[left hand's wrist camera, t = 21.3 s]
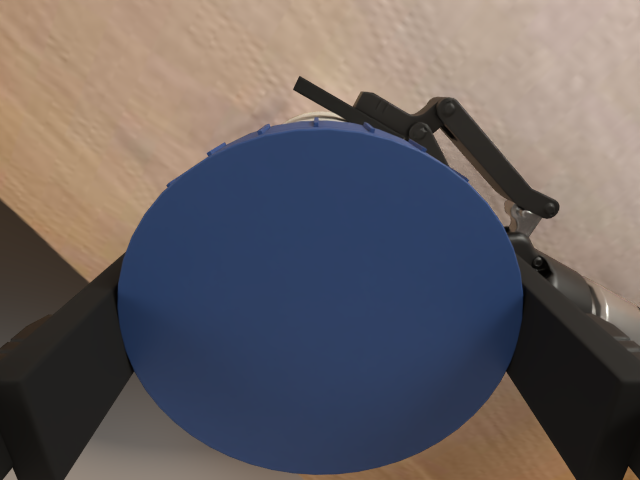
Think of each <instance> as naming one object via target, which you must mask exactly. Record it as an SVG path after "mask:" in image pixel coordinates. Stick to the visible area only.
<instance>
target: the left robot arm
mask: <svg viewBox="0 0 640 480" xmlns="http://www.w3.org/2000/svg"><path fill="white" fill-rule="evenodd" d="M125 253H126V252H125ZM125 253H124V254H123V255H122V256H121V257H119V258H118V259H117V260H116V261H115V262H114V263H112V264H111V265H110V266H109V267H108V268H107V269H106V270H104V271H103V272H102V273H101V274H100V275H99V276H97V277H96V278H95V279H94V280H93V281H92V282H90V283H89V284H88V285H87V286H86V287H85V288H84V289H82V290H81V291H80V292H79V293H78V294H77V295H75V296H74V297H73V298H72V299H71V300H70V301H69V302H67V303H66V304H65V305H64V306H63V307H62V308H60V309H59V310H58V311H57V312H56V313H55V314H53V315H47V316H45V317H43V318H41V319H39V320H37V321H36V322H34V323H32V324H30V325H28V326H26V327H25V328H24V329H23V330H22V331H20V332H19V333H18V334H17V335H16V336H14V337H13V338H12V339H11V341H10V342H7V343H6V344H5V345H3V346H2V347H1V348H0V480H3V479H4V477H5V476H6V475H7V474H8V472H9V471H10V470H11V469H12V467H13V470H14V472H15V474H16V477H17V479H18V480H64V479H65V477H66V476H67V474H68V473H69V471H70V470H71V468H72V466H73V465H74V463H75V462H76V460H77V459H78V457H79V456H80V454H81V453H82V451H83V449H84V448H85V446H86V445H87V443H88V442H89V440H90V439H91V437H92V436H93V434H94V432H95V431H96V429H97V428H98V426H99V425H100V423H101V422H102V420H103V419H104V417H105V415H106V414H107V412H108V411H109V409H110V408H111V406H112V405H113V403H114V401H115V400H116V398H117V397H118V395H119V394H120V392H121V391H122V389H123V388H124V386H125V385H126V383H127V381H128V380H129V378H130V377H131V375H132V374H133V372H134V370H133V367H132V365H131V363H130V360H129V358H128V356H127V353H126V351H125V347H124V343H123V339H122V334H121V330H120V325H119V318H118V310H117V300H118V282H119V277H120V272H121V267H122V263H123V259H124V256H125ZM515 255H516V258H517V262H518V265H519V269H520V273H521V282H522V290H523V315H522V322H521V327H520V332H519V336H518V341H517V344H516V348H515V351H514V354H513V357H512V360H511V362H510V364H509V366H508V368H507V370H506V372H507V373H508V375H509V376H510V378H511V380H512V381H513V383H514V384H515V386H516V387H517V389H518V390H519V392H520V393H521V395H522V397H523V398H524V400H525V401H526V403H527V404H528V406H529V407H530V409H531V410H532V412H533V414H534V415H535V417H536V418H537V420H538V421H539V423H540V424H541V426H542V427H543V429H544V431H545V432H546V434H547V435H548V437H549V438H550V440H551V441H552V443H553V444H554V446H555V448H556V449H557V451H558V452H559V454H560V455H561V457H562V458H563V460H564V461H565V463H566V465H567V466H568V468H569V469H570V471H571V472H572V474H573V475H574V477H575V478H576V480H623V478H624V475H625V473H626V471H627V468H628V466H629V467H630V469H631V470H632V471H633V472H634V473H635V475H636V476H637V477H638V478H639V480H640V346H639V345H638V344H637V343H636V342H634V341H631V340H630V337H628V336H627V335H626V334H625V333H623V332H622V331H621V330H620V329H619V328H617V327H616V326H615V325H613V324H612V323H610V322H608V321H606V320H604V319H602V318H600V317H598V316H596V315H594V314H592V313H585V312H583V311H582V310H581V309H580V308H579V307H578V306H576V305H575V304H574V303H573V302H572V301H571V300H569V299H568V298H567V297H566V296H565V295H564V294H563V293H561V292H560V291H559V290H558V289H557V288H556V287H554V286H553V285H552V284H551V283H550V282H549V281H547V280H546V279H545V278H544V277H543V276H542V275H541V274H539V273H538V272H537V271H536V270H535V269H534V268H532V267H531V266H530V265H529V264H528V263H527V262H525V261H524V260H523V259H522V258H521V257H520V256H519V255H517V254H516V253H515Z"/></svg>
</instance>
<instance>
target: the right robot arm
mask: <svg viewBox="0 0 640 480" xmlns="http://www.w3.org/2000/svg"><path fill="white" fill-rule="evenodd" d="M293 90H295V91H296V92H298V93H300V94H302V95H303V96H305V97H307V98H309V99H310V100H312V101H314V102H316V103H317V104H319V105H321V106H323V107H324V108H326V109H328V110H330V111H331V112H333V113H335V114H337V115H338V116H340V117H342V118H344V119H345V120H347V121H349V122H351V123H355V124H359V125H363V124H364V122H366V123H368V124H370V125H371V126H372V127H373V128H375V129H379V130H382V131H384V132H387V133H389V134H392V135H394V136H397V137H399V138H402V139H404V140H405V141H407V142H408V141H409V139H411V140H413V141H414V142H416V143H418V144H419V145H421V146H423V147H424V148H426V149H427V150H426V153H428V154H429V155H431V156H432V157H434V158H435V159H437V160H439V161H440V162H442V163H443V164H445V165H446V166H449V165H448V163H447V161H446V159H445V157H444V155H443V153H442V151H441V149H440V147H439V145H438V143H437V141H436V139H435V137H434V135H433V133H434V132H435V131H437V130H438V129H439V128H440V129H441V130H442V131H443V132H444V133H445V135H446V136H447V137H448V138H449V139H450V140H451V141H452V142H453V144H454V145H455V146H456V147H457V148H458V149H459V150H460V152H461V153H462V154H463V155H464V156H465V157H466V158H467V159H468V161H469V162H470V163H471V164H472V165H473V166H474V167H475V169H476V170H477V171H478V172H479V173H480V174H481V175H482V176H483V178H484V179H485V180H486V181H487V182H488V183H489V184H490V186H491V187H492V188H493V189H494V190H495V191H496V192H497V193H499V194H500V195H501V196H503V197H504V198H506V199H508V200H506V201H505V203H504V205H505V212H506V213H507V214H508V215H509V216H510V218H511V224H510V226H505V227H504V229H505V231H506V233H507V235H508V238H509V240H510V242H511V244H512V246H513V248H514V252H515V253H516V254H517V255H519V256H520V257H521V258H522V259H523V260H524V261H525V262H527V263H528V264H529V265H530V266H531V267H532V268H534V269H535V270H536V271H537V272H538V273H539V274H541V275H542V276H543V277H544V278H545V279H546V280H547V281H549V282H550V283H551V284H552V285H553V286H554V287H556V288H557V289H558V290H559V291H560V292H561V293H563V294H564V295H565V296H566V297H567V298H568V299H569V300H571V301H572V302H573V303H574V304H575V305H576V306H578V307H579V308H580V309H581V310H582V311H583V312H585V313H592V314H594V315H596V316H598V317H600V318H602V319H604V320H606V321H608V322H610V323H612V324H613V325H615V326H616V327H617V328H619V329H620V330H621V331H622V332H623V333H625V334H626V335H627V336H628V337H630V340H631V341H634V342H636V343H637V344H638V345H639V346H640V308H639V307H637V306H636V305H634V304H632V303H631V302H629V301H627V300H625V299H624V298H622V297H620V296H618V295H617V294H615V293H613V292H611V291H610V290H608V289H606V288H604V287H602V286H601V285H599V284H597V283H595V282H594V281H592V280H590V279H588V278H586V277H584V276H581V275H580V274H579V273H578V272H576V271H574V270H572V269H571V268H569V267H567V266H565V265H563V264H562V263H560V262H558V261H556V260H555V259H553V258H551V257H549V256H547V255H546V254H544V253H542V252H540V251H539V250H537V249H535V248H534V247H533V245H532V243H531V241H530V239H529V238H528V237H529V236H530V234H531V233H532V232H533V230H534V229H535V227H536V226H537V224H538V223H539V221H540V220H541V218H546V219H548V218H552V217H554V216H555V215H556V214H557V213H558V211H559V203H558V202H557V201H556V200H554V199H552V198H550V197H548V196H546V195H544V194H542V193H540V192H538V191H535V190H533V189H532V188H531V187H530V186H529V185H528V184H527V183H526V181H525V180H524V179H523V178H522V177H521V175H520V174H519V173H518V172H517V171H516V170H515V168H514V167H513V166H512V165H511V164H510V162H509V161H508V160H507V159H506V158H505V157H504V155H503V154H502V153H501V152H500V151H499V149H498V148H497V147H496V146H495V145H494V144H493V142H492V141H491V140H490V139H489V138H488V136H487V135H486V134H485V133H484V132H483V131H482V129H481V128H480V127H479V126H478V125H477V123H476V122H475V121H474V120H473V119H472V118H471V116H470V115H469V114H468V113H467V112H466V110H465V109H464V108H463V107H462V106H461V105H460V103H459V102H458V101H457V100H456V99H454V98H449V97H434V98H432V99H431V100H429V102H428V103H427V105H426V106H425V107H424V108H422V109H421V110H420V111H419V112H417V113H415V114H411V115H410V114H408V113H406V112H405V111H403V110H401V109H400V108H398V107H396V106H394V105H393V104H391V103H389V102H388V101H386V100H384V99H383V98H381V97H379V96H378V95H376V94H374V93H370V92H360V94H359V96H358V98H357V100H356V102H355V103H354V105H353V107H352V106H350V105H349V104H347V103H345V102H343V101H342V100H340V99H338V98H337V97H335V96H333V95H331V94H330V93H328V92H326V91H325V90H323V89H321V88H319V87H318V86H316V85H314V84H312V83H311V82H309V81H307V80H306V79H304V78H302V77H300V76H299V78H298V80H297V82H296V84H295V86H294V89H293Z"/></svg>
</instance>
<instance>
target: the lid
mask: <svg viewBox="0 0 640 480" xmlns="http://www.w3.org/2000/svg"><path fill="white" fill-rule="evenodd" d="M426 150H427V149H426V148H424V147H423V146H421V145H419V144H418V143H416V142H414V141H413V140H411V139H409V141H408V142H407V141H405V140H404V139H402V138H399V137H397V136H394V135H392V134H389V133H387V132H384V131H382V130H379V129H375V128H373V127H372V126H371V125H370V124H368V123H366V122H364V124H363V125H359V124H355V123H348V122H338V121H329V120H322V121H319V117H315V118H314V121H299V122H293V123H287V124H281V125H276V126H272V127H270V124H267V125H265V126H264V127H262V128H261V129H260V130H258V131H256V132H253V133H250V134H248V135H246V136H244V137H242V138H240V139H238V140H235V141H233V142H231V143H229V144H227V145H226V144H225V142H224V143H223V144H221V145H219V146H218V147H216V148H214V149H213V150H211V151H209V152H208V153H207V155H208V156H209V157H207V158H205V159H204V160H203V161H201V162H200V163H198V164H197V165H195V166H194V167H192V168H191V169H189V170H188V171H186V172H185V173H183V174H182V175H180V176H179V177H177V178H176V179H174V180H173V181H171V182H169V183H168V184H167V185H166V186H167V187H168V188H167V189H166V190H164V191H163V192H162V193H161V194H160V196H159V197H158V198H157V199H156V201H155V202H154V203H153V204H152V206H151V207H150V208H149V209H148V211H147V212H146V213H145V215H144V216H143V218H142V220H141V221H140V223H139V225H138V227H137V228H136V230H135V232H134V234H133V235H132V237H131V240H130V243H129V245H128V248H127V251H126V253H125V256H124V259H123V263H122V267H121V272H120V277H119V282H118V300H117V310H118V318H119V325H120V330H121V334H122V339H123V343H124V347H125V351H126V353H127V356H128V358H129V360H130V363H131V365H132V367H133V370H134V372H135V373H136V375H137V377H138V378H139V380H140V382H141V383H142V385H143V387H144V388H145V390H146V391H147V392H148V394H149V395H150V396H151V397H152V399H153V400H154V401H155V403H156V404H157V405H158V406H159V407H160V408H161V409H162V410H163V411H164V412H165V413H166V414H167V415H168V416H169V417H170V418H171V419H172V420H173V421H174V422H175V423H176V424H177V425H179V426H180V427H181V428H182V429H184V430H185V431H186V432H188V433H189V434H190V435H191V436H193V437H195V438H196V439H198V440H199V441H201V442H203V443H204V444H206V445H208V446H209V447H211V448H213V449H215V450H217V451H219V452H221V453H223V454H225V455H227V456H229V457H232V458H235V459H238V460H240V461H243V462H246V463H248V464H251V465H255V466H260V467H263V468H267V469H271V470H276V471H283V472H289V473H297V474H312V475H324V474H343V473H352V472H359V471H364V470H369V469H374V468H378V467H382V466H385V465H388V464H392V463H395V462H398V461H401V460H403V459H406V458H408V457H410V456H413V455H415V454H418V453H420V452H422V451H424V450H426V449H427V448H429V447H431V446H433V445H435V444H436V443H438V442H440V441H441V440H443V439H444V438H446V437H447V436H449V435H450V434H451V433H453V432H454V431H456V430H457V429H458V428H460V427H461V426H462V425H463V424H464V423H465V422H466V421H468V420H469V419H470V418H471V417H472V416H473V415H474V414H475V413H476V412H477V411H478V410H479V409H480V408H481V406H482V405H483V404H484V403H485V402H486V401H487V400H488V399H489V397H490V396H491V394H492V393H493V392H494V390H495V389H496V387H497V386H498V384H499V383H500V381H501V380H502V378H503V376H504V374H505V372H506V370H507V368H508V366H509V364H510V362H511V360H512V357H513V354H514V351H515V348H516V344H517V341H518V336H519V332H520V327H521V322H522V315H523V290H522V282H521V273H520V269H519V265H518V262H517V258H516V255H515V252H514V248H513V246H512V244H511V242H510V240H509V238H508V235H507V233H506V231H505V229H504V227H503V225H502V223H501V222H500V221H499V219H498V217H497V216H496V215H495V213H494V212H493V210H492V209H491V207H490V206H489V204H488V203H487V202H486V201H485V200H484V199H483V198H482V197H481V196H480V195H479V194H478V192H477V191H476V190H475V189H474V188H473V187H472V186H471V185H470V184H469V183H468V181H469V180H468V179H467V178H466V177H464V176H463V175H461V174H460V173H458V172H457V171H455V170H453V169H452V168H450V167H449V166H446V165H445V164H443V163H442V162H440V161H439V160H437V159H435V158H434V157H432V156H431V155H429V154H428V153H426Z"/></svg>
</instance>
